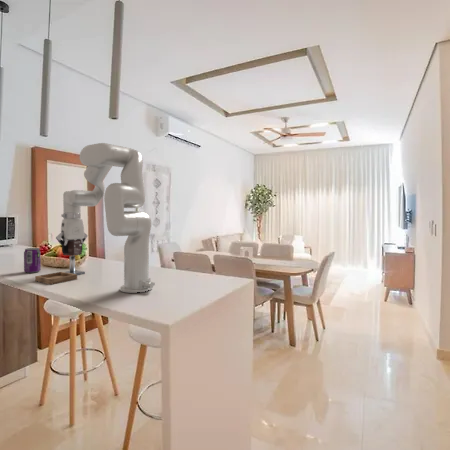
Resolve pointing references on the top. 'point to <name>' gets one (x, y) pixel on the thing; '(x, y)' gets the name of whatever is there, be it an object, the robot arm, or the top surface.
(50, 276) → the tray
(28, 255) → the beverage can
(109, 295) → the top surface
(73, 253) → the box
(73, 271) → the gauge stand
